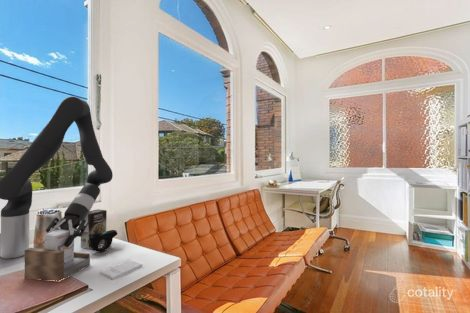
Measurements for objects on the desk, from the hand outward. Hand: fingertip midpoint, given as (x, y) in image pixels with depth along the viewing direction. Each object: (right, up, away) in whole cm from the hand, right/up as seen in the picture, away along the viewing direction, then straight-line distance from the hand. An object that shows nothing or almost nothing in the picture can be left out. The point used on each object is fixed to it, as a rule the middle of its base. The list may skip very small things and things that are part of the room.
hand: (55, 245), depth 93 cm
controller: (+6, -10, +22) cm, 25 cm away
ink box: (0, -7, +2) cm, 8 cm away
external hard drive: (+23, -11, +3) cm, 25 cm away
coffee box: (-2, -10, +29) cm, 30 cm away
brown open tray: (0, -10, +2) cm, 10 cm away
